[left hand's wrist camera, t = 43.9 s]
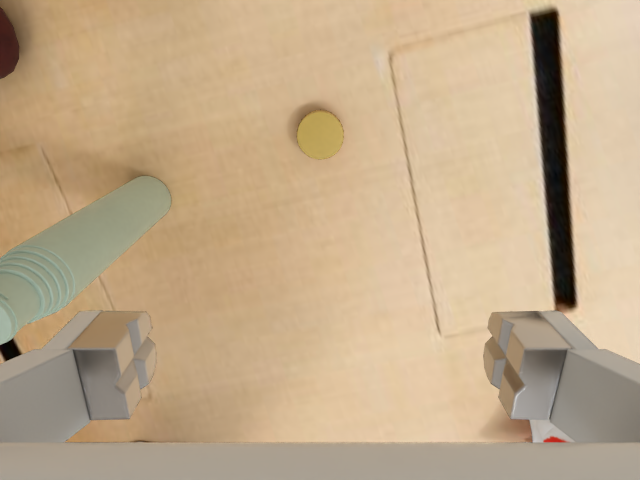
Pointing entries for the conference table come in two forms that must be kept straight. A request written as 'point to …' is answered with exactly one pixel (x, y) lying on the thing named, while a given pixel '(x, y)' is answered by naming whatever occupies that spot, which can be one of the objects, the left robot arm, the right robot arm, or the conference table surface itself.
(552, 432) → the fish
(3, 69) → the potato
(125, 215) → the bottle
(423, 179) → the conference table surface
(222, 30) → the conference table surface
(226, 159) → the conference table surface
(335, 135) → the cap
